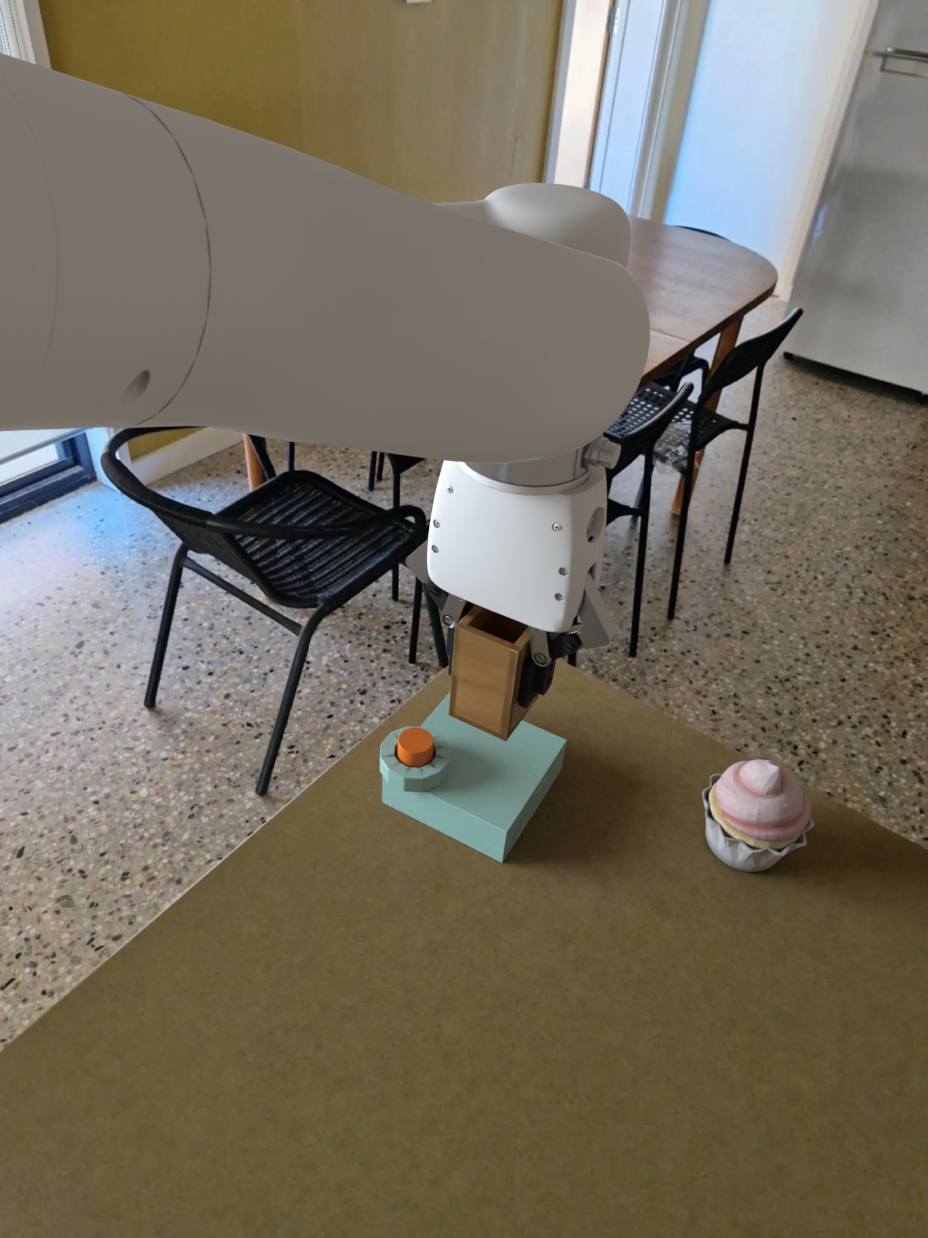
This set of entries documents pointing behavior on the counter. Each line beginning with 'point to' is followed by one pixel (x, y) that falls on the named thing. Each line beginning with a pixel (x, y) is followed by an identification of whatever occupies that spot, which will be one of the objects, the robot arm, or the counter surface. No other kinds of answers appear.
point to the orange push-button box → (473, 780)
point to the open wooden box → (488, 671)
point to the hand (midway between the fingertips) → (497, 677)
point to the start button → (415, 747)
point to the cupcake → (755, 814)
